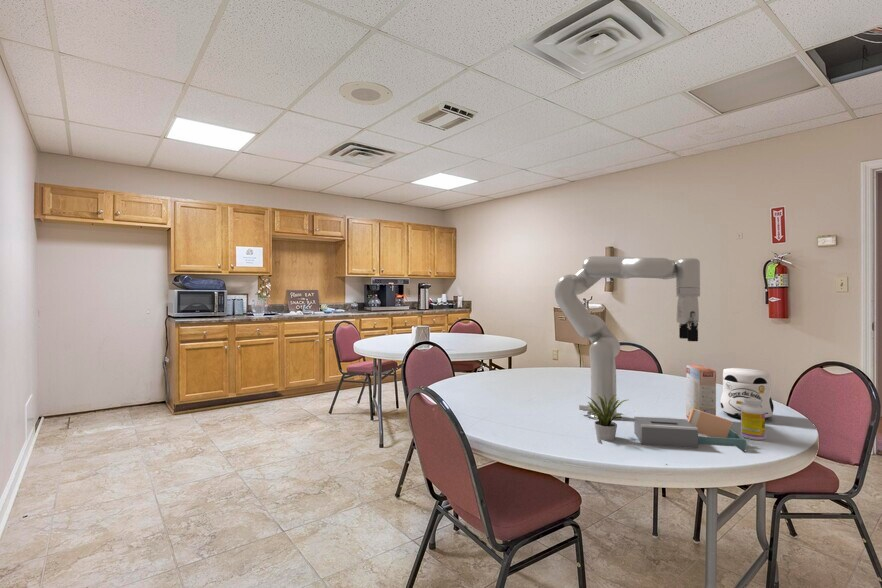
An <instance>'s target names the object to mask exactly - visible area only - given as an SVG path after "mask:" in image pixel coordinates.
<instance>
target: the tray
mask: <svg viewBox="0 0 882 588" xmlns="http://www.w3.org/2000/svg"><path fill="white" fill-rule="evenodd" d="M698 444H703V445H704V444H706V445H720V446H735V447H736V448H738V449H739V450H740V451H741V450H746V451H747V438H745V437H743V436H742V435H740V434H739V433H738V432H736V431H734V430H733V429H732V428H730V430H729V433H728V436H727V438H719V437H709V436H704V435H703V436H702V435H701V436H700V435H698Z"/></svg>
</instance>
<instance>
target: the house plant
mask: <svg viewBox="0 0 882 588" xmlns="http://www.w3.org/2000/svg"><path fill="white" fill-rule="evenodd" d="M596 395H597V394H596ZM597 396H598V395H597ZM615 396H616V397H617V393H616V395H613V396H612V397H611V399H610V400H609V403H608V404H607V401H606V397H605V395H604V397H605V403H604V400H603V399H602V398H601V397H600V396H598V397H599V399H600V401H601V405H602V408H603V412H604V415H603V413H602V410H601V409H600V408H599V407H598V405H597V404H596V403H595V401H593V400H592V399H591V397H590V396H586V397H587V398H588V399H589V400H590V401H587V403H588V405H590V407H591V408H592V410H590V411H594V412H591V413H594V414H596V415H597V416H598V419H599V420H596V421H594V429H595V434H596V440H597V443H598V444H600V445H603V442H602V441H609V442H610V441H614V440H615V439H616V435H617V428H618V424H617V423H616V422H614V421H613V419H617V418H620V419H623V417H622V416H625V415H624V414H623V413H622V412H621V413H619V412H618V413H619V414H616V415H615V416H614V417H612V414H613V412H614V411H615V409H616V410H617V409H618V407H619V406H621V405H622V403H624V402H626V401H628V399H624V400H621V401H620V399H616V402H615V404H614V406H613V408H612V410H610V408H611V405H612V403H613V402H612V401H613V399H614V397H615ZM591 400H592V401H593V402H592V403H593V404H594V405H595V406H596V407H597V408H596V407H594V406H593V405H592V404H591ZM607 406H608V408H607ZM615 406H616V407H615ZM597 409H598V410H599V411H598V410H597ZM617 415H621V417H616V416H617ZM611 417H612V419H611ZM593 418H597V417H595V416H594V417H592V418H591V419H593Z"/></svg>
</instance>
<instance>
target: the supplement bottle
mask: <svg viewBox="0 0 882 588" xmlns="http://www.w3.org/2000/svg"><path fill="white" fill-rule="evenodd" d="M744 402H745V406H742V408H741V418H740V423H741V424H740V431H741V433H740V434H741V435H740V436H742V437H743V438H744V439H748V438H749V440H753V441H754V440H755V441H762V440H765V438H766V419H765V411H764V409H763V408H761V407H760V405H761V400H759V399H754V398H745V399H744Z"/></svg>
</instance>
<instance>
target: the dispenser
mask: <svg viewBox="0 0 882 588" xmlns="http://www.w3.org/2000/svg"><path fill="white" fill-rule="evenodd" d="M633 423H634V424H633V425H634V426H633V427H634V428H633V429H634V431H633V432H634V434H635V436H636V438H637V439H638V441H639V442H640V444H641V445H644V446H659V447H660V446H661V447H675V448H689V449H690V448H691V449H699V443H698V436H699V433H698V428H697V427H694V426H693V425H691V424H690V423H689V422H688V419H685V418H669V417H668V418H666V417H650V416H649V417H646V416H634V421H633Z"/></svg>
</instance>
